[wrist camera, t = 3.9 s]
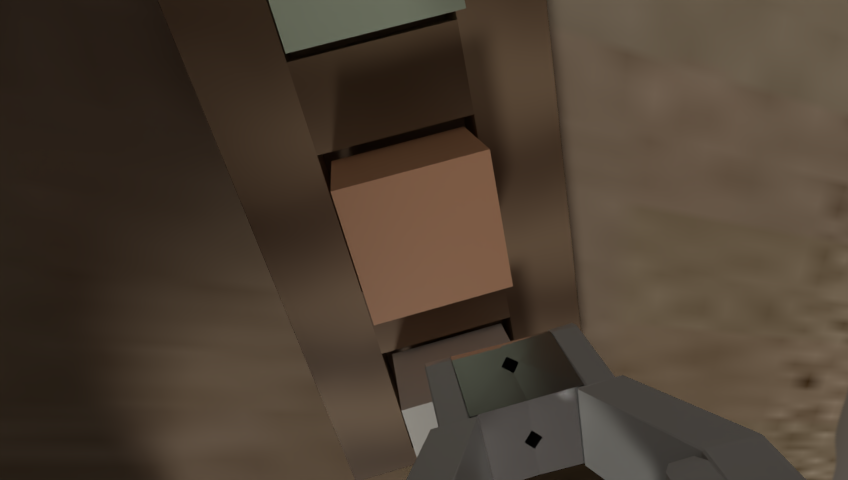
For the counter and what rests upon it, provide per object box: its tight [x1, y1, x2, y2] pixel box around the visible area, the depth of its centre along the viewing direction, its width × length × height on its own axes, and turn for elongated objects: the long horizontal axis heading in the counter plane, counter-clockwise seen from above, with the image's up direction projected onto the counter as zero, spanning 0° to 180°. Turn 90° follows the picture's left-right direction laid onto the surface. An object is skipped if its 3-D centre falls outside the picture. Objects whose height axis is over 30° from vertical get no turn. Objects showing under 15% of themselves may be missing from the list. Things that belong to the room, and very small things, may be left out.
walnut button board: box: [158, 0, 581, 480], centre depth 21 cm, size 26×12×3 cm, turn 13°
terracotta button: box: [331, 126, 513, 325], centre depth 18 cm, size 5×5×4 cm
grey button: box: [392, 323, 510, 457], centre depth 22 cm, size 5×5×4 cm
